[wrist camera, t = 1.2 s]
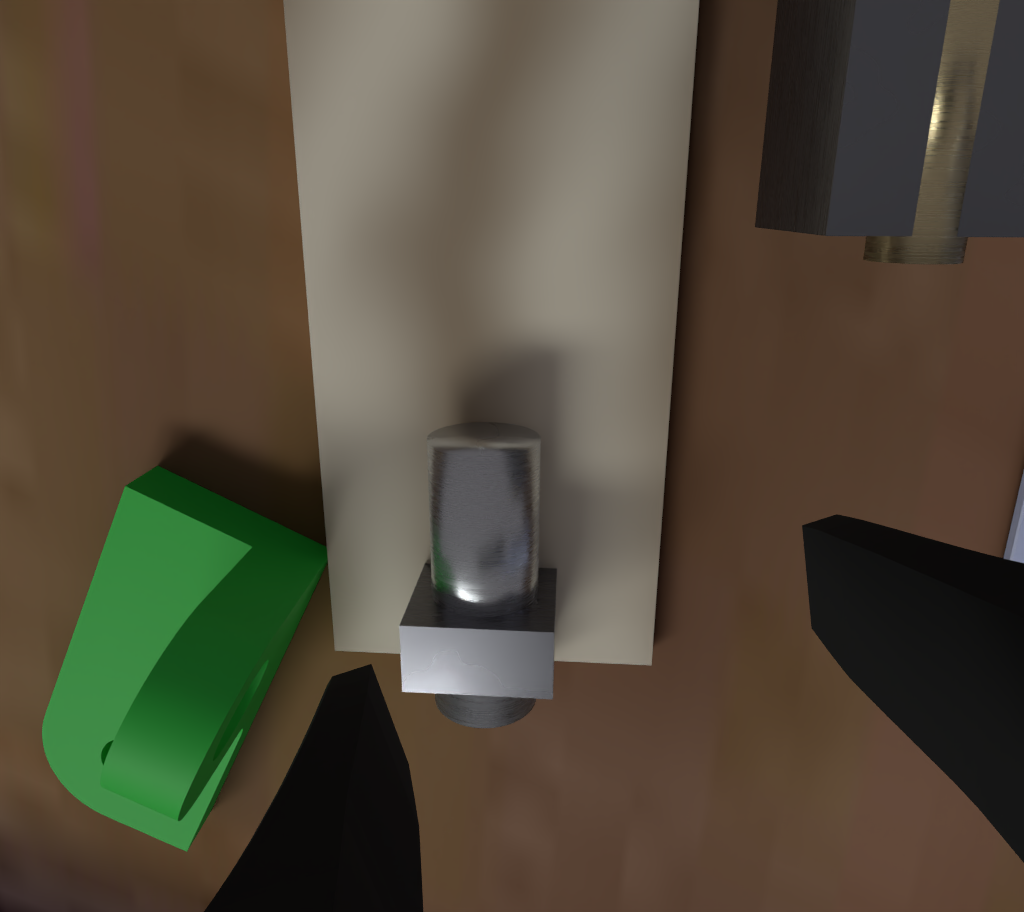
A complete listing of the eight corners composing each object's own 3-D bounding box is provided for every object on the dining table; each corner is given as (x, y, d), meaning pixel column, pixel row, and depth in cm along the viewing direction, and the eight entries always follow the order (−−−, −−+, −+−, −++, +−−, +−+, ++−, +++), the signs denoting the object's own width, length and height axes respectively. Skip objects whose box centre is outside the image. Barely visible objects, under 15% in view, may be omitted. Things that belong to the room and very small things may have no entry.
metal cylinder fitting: (419, 420, 22) (391, 461, 18) (560, 423, 21) (558, 465, 18) (428, 663, 24) (404, 738, 21) (554, 669, 24) (551, 746, 20)
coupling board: (733, -542, 15) (741, -581, 15) (648, 650, 24) (651, 665, 24) (255, -512, 16) (239, -547, 15) (342, 637, 25) (335, 650, 24)
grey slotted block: (973, -163, 17) (1175, -349, 11) (906, 247, 20) (1042, 265, 14) (793, -159, 17) (901, -338, 12) (752, 246, 20) (823, 263, 15)
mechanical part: (160, 463, 24) (-32, 584, 16) (335, 547, 24) (227, 703, 17) (60, 739, 27) (-134, 942, 20) (212, 807, 28) (79, 1032, 20)
